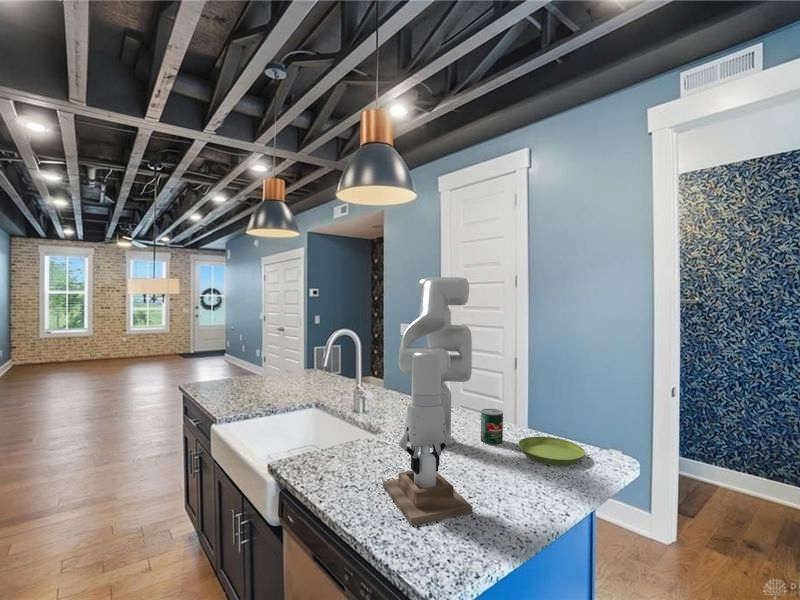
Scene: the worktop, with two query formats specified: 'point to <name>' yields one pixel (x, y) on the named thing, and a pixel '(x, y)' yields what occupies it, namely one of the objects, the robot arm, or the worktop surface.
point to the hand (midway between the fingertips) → (425, 470)
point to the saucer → (551, 450)
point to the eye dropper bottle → (426, 469)
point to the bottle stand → (425, 499)
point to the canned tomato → (492, 426)
